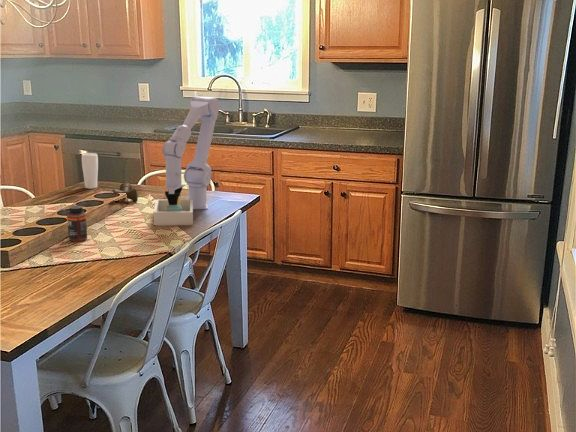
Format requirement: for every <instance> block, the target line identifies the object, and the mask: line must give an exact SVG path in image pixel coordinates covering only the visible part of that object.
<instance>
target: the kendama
mask: <svg viewBox="0 0 576 432" xmlns="http://www.w3.org/2000/svg"><path fill="white" fill-rule="evenodd" d="M112 193H126V194H127V198H128V199H127V200H131V201H133V202H135V201H137V202H138V201H139V200H138V199H139V198H138V187H133V188H132V185H131V183H129V182H122V183H121V184H120V186H119V189H117V188H113V191H112Z"/></svg>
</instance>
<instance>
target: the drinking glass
mask: <svg viewBox="0 0 576 432" xmlns="http://www.w3.org/2000/svg"><path fill="white" fill-rule="evenodd" d="M81 167H82V174H83V181H84V188H85V189H88V190H93V189H97V188H98V176H99V174H98V173H99V171H98V170H99V156H98V153H96V152H85V153H82V154H81Z"/></svg>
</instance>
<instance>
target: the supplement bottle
mask: <svg viewBox="0 0 576 432" xmlns="http://www.w3.org/2000/svg"><path fill="white" fill-rule="evenodd" d="M66 220H67V233H68V240H69V241H70V242H74V243H75V242H77V243H78V242H83V241H86V240H87V239H88V230H87V228H88V227H87V216H86V213H85V212H84V211H83V206H82V205H72V206H69V213H67V214H66Z"/></svg>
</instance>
